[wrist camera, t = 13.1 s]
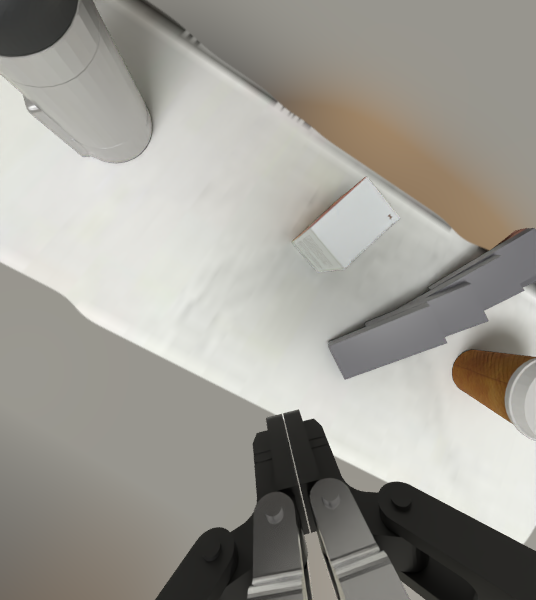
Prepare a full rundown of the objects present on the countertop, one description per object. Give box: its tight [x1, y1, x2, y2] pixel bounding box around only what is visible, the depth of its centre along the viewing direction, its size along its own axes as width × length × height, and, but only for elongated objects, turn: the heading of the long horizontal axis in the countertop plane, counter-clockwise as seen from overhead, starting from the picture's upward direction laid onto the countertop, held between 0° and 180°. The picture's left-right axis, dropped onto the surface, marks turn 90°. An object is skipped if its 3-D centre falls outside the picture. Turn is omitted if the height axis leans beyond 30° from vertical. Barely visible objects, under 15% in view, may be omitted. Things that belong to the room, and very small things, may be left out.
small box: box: [292, 177, 400, 273], centre depth 35 cm, size 8×6×10 cm
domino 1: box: [328, 303, 447, 379], centre depth 38 cm, size 2×5×13 cm
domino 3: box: [428, 228, 536, 290], centre depth 39 cm, size 2×5×13 cm
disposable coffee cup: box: [452, 350, 536, 441], centre depth 37 cm, size 10×10×12 cm
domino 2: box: [365, 282, 488, 337], centre depth 38 cm, size 2×5×13 cm
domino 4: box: [398, 255, 524, 310], centre depth 39 cm, size 2×5×13 cm
